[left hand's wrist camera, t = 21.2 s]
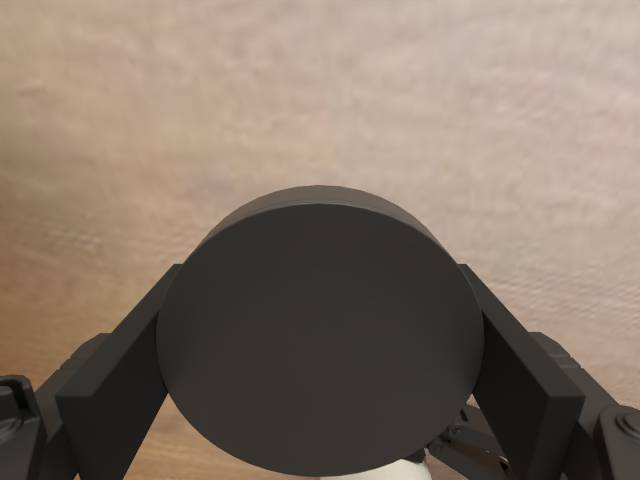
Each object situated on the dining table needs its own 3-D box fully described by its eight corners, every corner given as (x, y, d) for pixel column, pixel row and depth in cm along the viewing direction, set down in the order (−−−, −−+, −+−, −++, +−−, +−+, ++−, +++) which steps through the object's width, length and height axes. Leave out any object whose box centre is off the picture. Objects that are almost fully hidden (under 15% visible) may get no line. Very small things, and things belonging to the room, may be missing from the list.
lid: (348, 117, 10) (355, 120, 8) (509, 341, 13) (543, 383, 11) (122, 300, 12) (84, 337, 10) (300, 462, 15) (297, 516, 13)
